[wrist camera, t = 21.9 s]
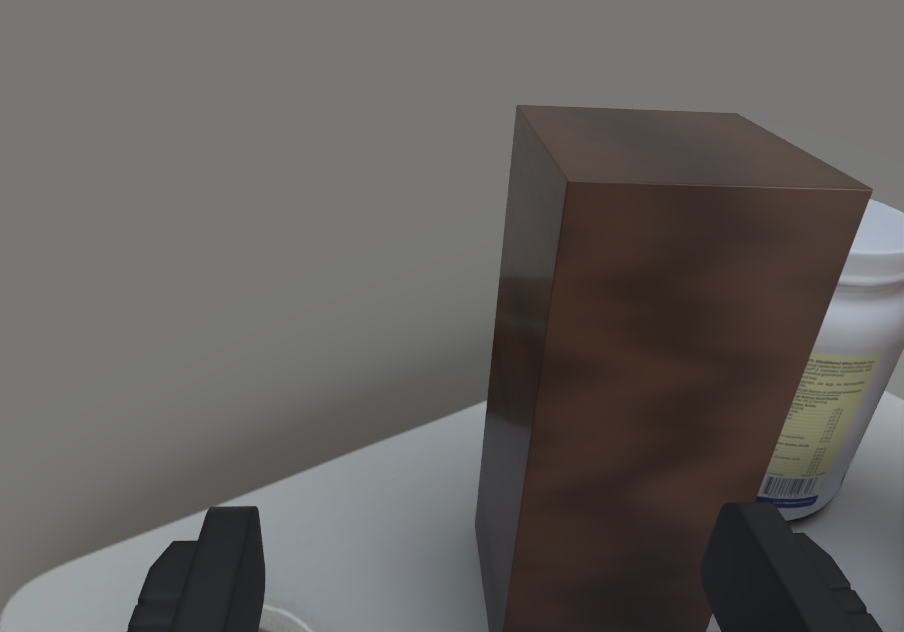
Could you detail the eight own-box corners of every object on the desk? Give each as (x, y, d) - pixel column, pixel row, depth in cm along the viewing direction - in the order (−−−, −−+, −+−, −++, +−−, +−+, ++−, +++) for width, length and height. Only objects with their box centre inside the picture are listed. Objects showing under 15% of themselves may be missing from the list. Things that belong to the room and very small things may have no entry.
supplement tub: (704, 381, 51) (769, 162, 43) (870, 475, 43) (990, 227, 35) (595, 442, 44) (646, 195, 36) (768, 566, 36) (886, 285, 28)
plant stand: (495, 680, 30) (567, 180, 19) (474, 524, 38) (516, 104, 26) (690, 672, 31) (874, 189, 19) (631, 522, 39) (737, 113, 27)
